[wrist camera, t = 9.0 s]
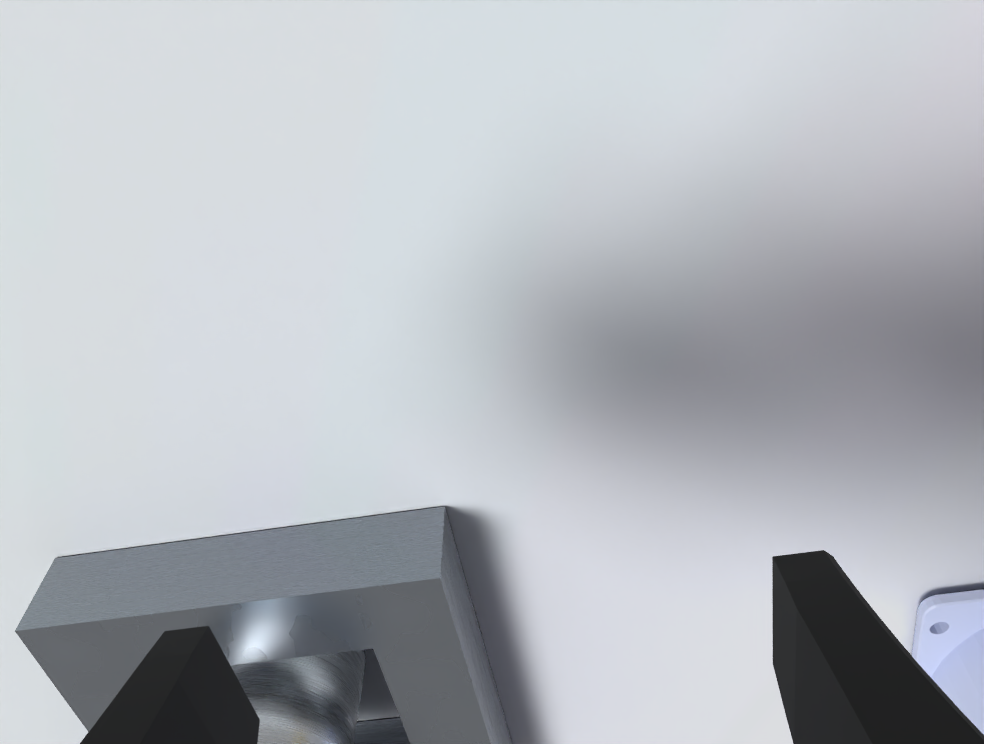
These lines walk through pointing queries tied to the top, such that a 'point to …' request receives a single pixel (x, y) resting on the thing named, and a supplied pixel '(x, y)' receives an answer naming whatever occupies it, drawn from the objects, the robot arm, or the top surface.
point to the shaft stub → (305, 697)
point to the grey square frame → (283, 616)
